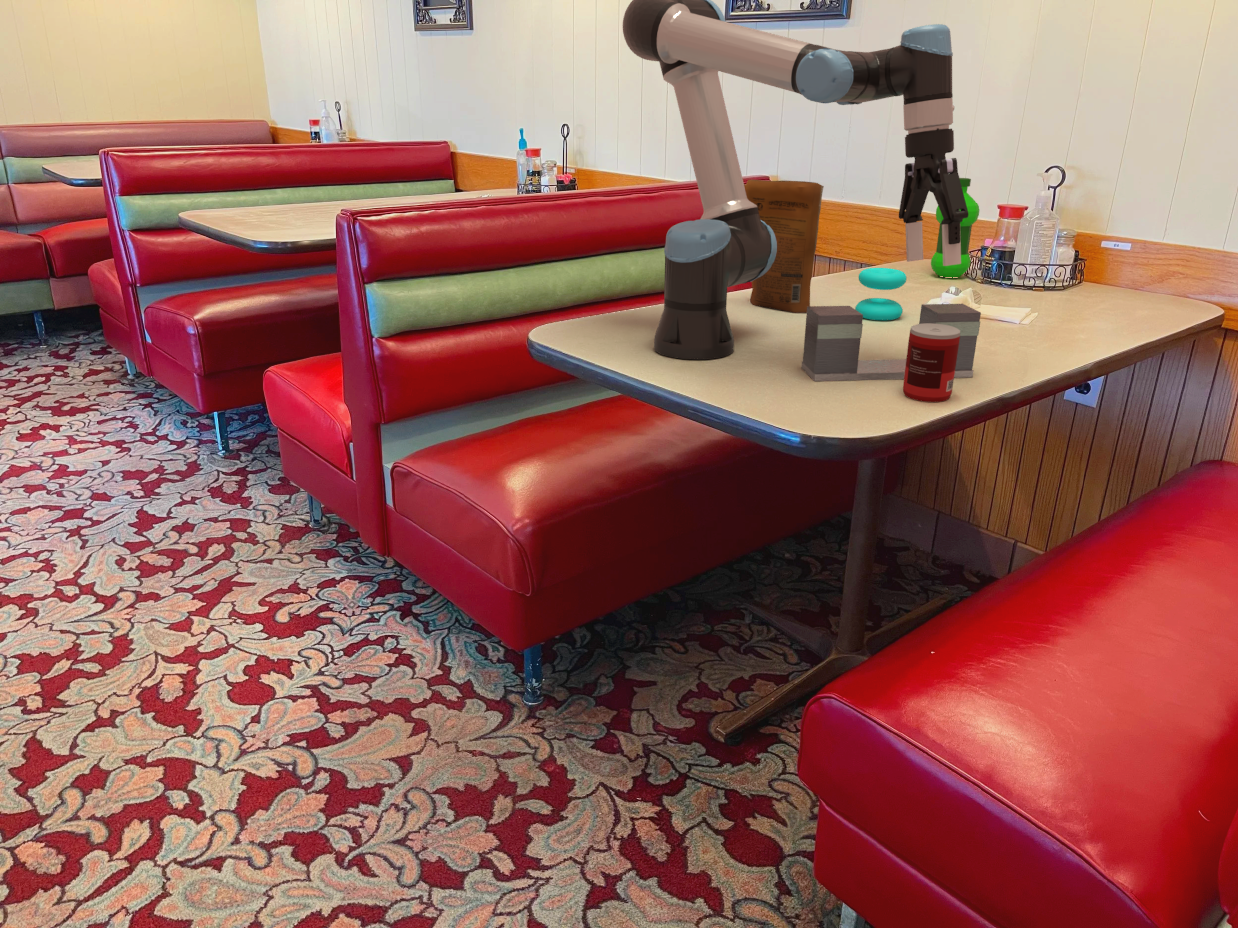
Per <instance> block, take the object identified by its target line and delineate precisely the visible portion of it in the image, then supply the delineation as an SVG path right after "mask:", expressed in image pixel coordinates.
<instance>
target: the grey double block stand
mask: <svg viewBox="0 0 1238 928" xmlns="http://www.w3.org/2000/svg"><path fill="white" fill-rule="evenodd" d="M920 306H921V307H920V313H919V314H920V315H919V320H918V321H919V323H918V324H925V323H932V324H943V325H948V326H952V327H955V328H957V329H959V330H960V340H959V348H958V354H957V361H956V368H955V374H954V379H957V378H959V379H961V378H962V379H963V378H964V379H965V378H973V376H974V370H973V369H974V368H973V367H974V360H975V354H976V347H977V341H978V336H979V334H980V327H981V326H980V325H981V321H980V320H981V315H982V313H981V311H979V310H977V309H974V308H973V307H970V306H968V305H966V304H964V303H930V304H929V303H923V304H922V303H921V305H920ZM805 319H806V320H805V331H804V340H803V341H804V343H803V344H804V345H803V353H802V361H801V369H802V370H803V371H804V373H805V374H806V375H808V377H810V379H812V380H813V381H814V382H836V381H837V382H842V381H877V380H879V381H881V380H882V381H883V380H904V375H905V367H906V358H901V359H899V358H898V359H894V358H893V359H864V360H863V359H859V357H860V347H861V339H862V336H863V335H862V334H863V325H864V324H863V319H864V318H863V315H862V314H861V313H860V312H858V311H857V310H855V308H854V307H852V306H850V305H821V306H819V305H817V306H815V305H813V306H811V305H810V306H807V313H806V318H805Z"/></svg>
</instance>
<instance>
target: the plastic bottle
mask: <svg viewBox="0 0 1238 928" xmlns="http://www.w3.org/2000/svg"><path fill="white" fill-rule="evenodd" d="M959 179H960V182H961V186H962V190H963V194H964V198H965V202H966V206H967V210H968V217H967V218H964V219H963V220H962V222H960V236H961V264H956V265H949V266H943V247H942V224H941V223H942V220H943V216H942V213H941V211H940V209H939V206H938V205H937V207H936V210H935V219H936V220H937V222H938V223H939V228H938V235H937V243H936V251H935V252H934V254H933V256H932V258H931V260H930V266H931V269H932V271H933V272H934V273H935V274H936V275H937V276H938V275H939V276H943V277H952V278H953V277H959V278H960V277H962V276H963V275H964V274H965V273H966V272H967V271H968V270H969V268H970V267H971V257H970V255H969V249H970V248H969V247H970V242H971V233H972V229H973V228H972V227H973V225H974V224H975V223H976V222H977V221H978V218H979V216H980V215H979V214H980V205H979V203H977V201H976V200H975V199H974V198H973V197H972V196H971V195H970V194H969V193H968V188H969V187H971V183H972V182H971V181H972V179H971V178H967V177H959ZM960 211H961V210H960Z"/></svg>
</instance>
